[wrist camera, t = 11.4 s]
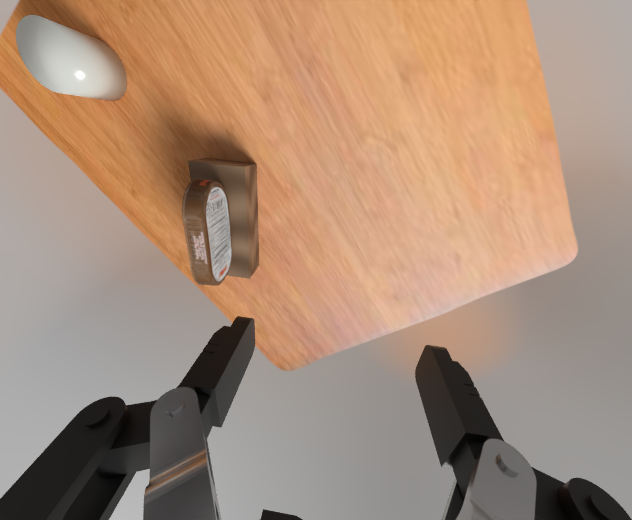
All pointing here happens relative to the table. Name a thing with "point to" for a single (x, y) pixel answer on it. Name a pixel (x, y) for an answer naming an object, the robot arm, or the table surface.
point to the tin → (207, 231)
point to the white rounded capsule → (70, 60)
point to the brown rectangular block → (236, 208)
